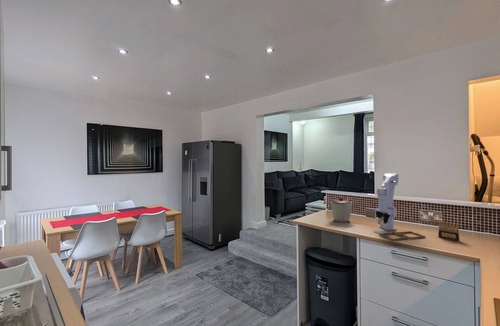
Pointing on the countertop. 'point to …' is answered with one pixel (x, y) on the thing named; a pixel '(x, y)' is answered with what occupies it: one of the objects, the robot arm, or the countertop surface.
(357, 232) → the countertop surface
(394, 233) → the tray near
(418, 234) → the tray far
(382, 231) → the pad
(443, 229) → the ammunition clip
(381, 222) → the cube
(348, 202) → the canister
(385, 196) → the robot arm
